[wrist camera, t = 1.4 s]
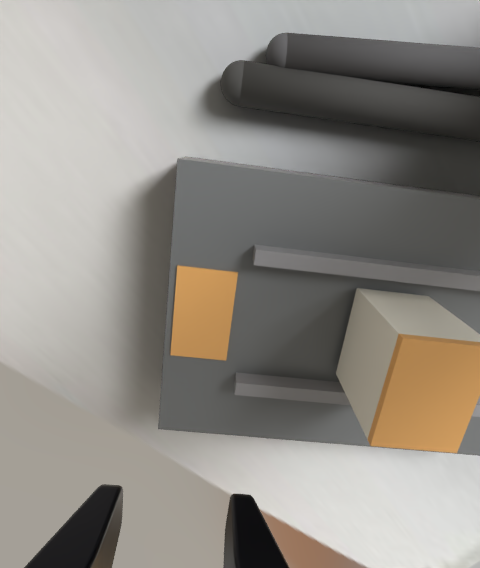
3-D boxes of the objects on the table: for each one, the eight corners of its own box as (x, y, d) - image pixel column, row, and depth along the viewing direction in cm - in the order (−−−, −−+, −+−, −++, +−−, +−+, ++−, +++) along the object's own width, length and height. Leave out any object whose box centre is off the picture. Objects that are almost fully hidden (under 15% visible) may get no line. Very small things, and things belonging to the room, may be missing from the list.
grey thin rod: (611, 63, 16) (645, 55, 15) (598, 100, 16) (630, 96, 15) (265, 36, 15) (269, 26, 14) (263, 76, 16) (266, 70, 14)
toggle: (428, 296, 16) (498, 348, 12) (401, 379, 17) (456, 452, 13) (356, 287, 15) (403, 338, 11) (335, 373, 17) (370, 446, 13)
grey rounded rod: (582, 116, 17) (617, 114, 15) (567, 155, 17) (599, 156, 16) (223, 62, 15) (222, 52, 14) (219, 105, 16) (218, 100, 15)
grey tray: (571, 208, 18) (657, 223, 14) (484, 418, 22) (535, 471, 18) (185, 156, 17) (174, 159, 13) (167, 390, 21) (155, 441, 17)
